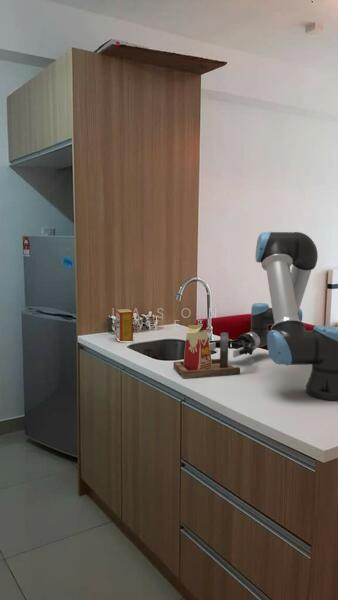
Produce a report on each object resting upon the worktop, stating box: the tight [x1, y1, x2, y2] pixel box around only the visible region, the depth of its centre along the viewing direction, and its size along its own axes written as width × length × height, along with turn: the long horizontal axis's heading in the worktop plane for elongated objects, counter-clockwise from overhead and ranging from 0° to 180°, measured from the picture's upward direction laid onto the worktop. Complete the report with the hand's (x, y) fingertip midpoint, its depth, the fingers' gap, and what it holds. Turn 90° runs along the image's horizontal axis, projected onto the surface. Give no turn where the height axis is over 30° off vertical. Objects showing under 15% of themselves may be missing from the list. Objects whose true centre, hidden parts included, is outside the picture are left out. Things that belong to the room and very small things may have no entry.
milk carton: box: [183, 323, 213, 370], centre depth 192 cm, size 9×9×20 cm
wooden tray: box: [173, 332, 241, 379], centre depth 193 cm, size 15×23×15 cm, turn 105°
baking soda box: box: [115, 308, 134, 342], centre depth 247 cm, size 10×6×16 cm
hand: (219, 351), depth 192 cm, fingers open, 13 cm apart
